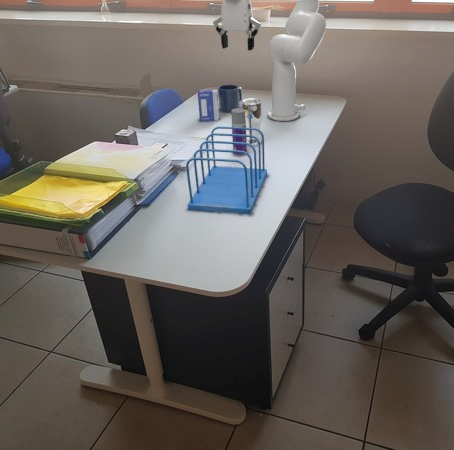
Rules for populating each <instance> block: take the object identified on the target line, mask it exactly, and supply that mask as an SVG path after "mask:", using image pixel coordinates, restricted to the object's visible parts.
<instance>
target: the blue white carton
mask: <svg viewBox="0 0 454 450" xmlns="http://www.w3.org/2000/svg"><path fill="white" fill-rule="evenodd" d="M197 102H198V114H199V122H215V121H217V122H219V121H220V110H219V96H218V89H207V90H206V89H205V90H202V89H201V90H197Z"/></svg>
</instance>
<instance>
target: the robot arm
mask: <svg viewBox="0 0 454 450" xmlns="http://www.w3.org/2000/svg"><path fill="white" fill-rule="evenodd" d="M221 1H222V2H221V12H220V13H221V14H220V17H219V18H217V19H215V20H213V22H212V23H213V26H214V28H215V30H216V32H217V33H218V35H219V36H220V43H221V47H222V48H221V49H223V50H224V49H227V48H228V47H229V36H228V34H227V33H228V32H241V33H243V32H244V33H245V34H246V35H247V36H248V38H247V51H250V52H251V51H253V50H254V48H255V37H256V35H257V34H258V33H259V31H260V29H261V28H262V23H261V22H259V21H258V20H256V19H255V18H254V15H253V8H252V7H253V6H252V2H251V1H252V0H221ZM319 8H320V1H319V0H297V1H296V4H295V6H294V8H293V9H292V11H291V12H290V14H289V15H288V18H287V20H286V22H285V25H284V29H285V31H286V32H285V34H283V33H281V34H276V35H274V36H273V37H272V38H271V40H270V41H269V46H268V50H269V57H270V62H271V111H269V112H268V113H267V116H268V118H269V119H271V120H273V121H279V122H289V121H294V120H297V119H298V118H299V116H300V113H299V111H300V110H305V109H306V105H305V104H299V103H296V93H297V90H296V89H297V71H296V67H295V64H297V65H305V64H308V63H309V62H310V61H311V59H312V58H313V56H314V54H315V53H316V51H317V49H318V48H319V46H320V44H321V42H322V40H323V38H324V36H325V34H326V29H327V21H326V18H325V16H324V15H323V14H321V13H319V12H318V11H319ZM220 25H221V26H220ZM254 26H255V27H254Z"/></svg>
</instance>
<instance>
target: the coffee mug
mask: <svg viewBox="0 0 454 450" xmlns="http://www.w3.org/2000/svg"><path fill="white" fill-rule="evenodd" d="M242 89H243V88H242V86H239V85H236V84H222V85H218V87H217V91H218V92H217V93H218V109H219V112H221V113H225V114H226V113H228V114H232V110H233V109H236V108H240V102H241V103H242V101H243V92H242V91H243V90H242Z"/></svg>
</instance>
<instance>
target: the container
mask: <svg viewBox="0 0 454 450" xmlns="http://www.w3.org/2000/svg"><path fill="white" fill-rule="evenodd" d="M231 127H244V128H246V117H245V109H242V107H239V108H236V109H233V110H232V112H231ZM231 134H242V135H246V130H241V129H231ZM231 138H232V139H231V140H232V142H244V143H247V141H246V137H237V136H231ZM247 146H248V145H238V144H232V150H238V151H245V152H247V153H248V149H247V148H248V147H247ZM232 154H233V155H234V156H235V157H244V156H247V155H246V154H243V153H232Z"/></svg>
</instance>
